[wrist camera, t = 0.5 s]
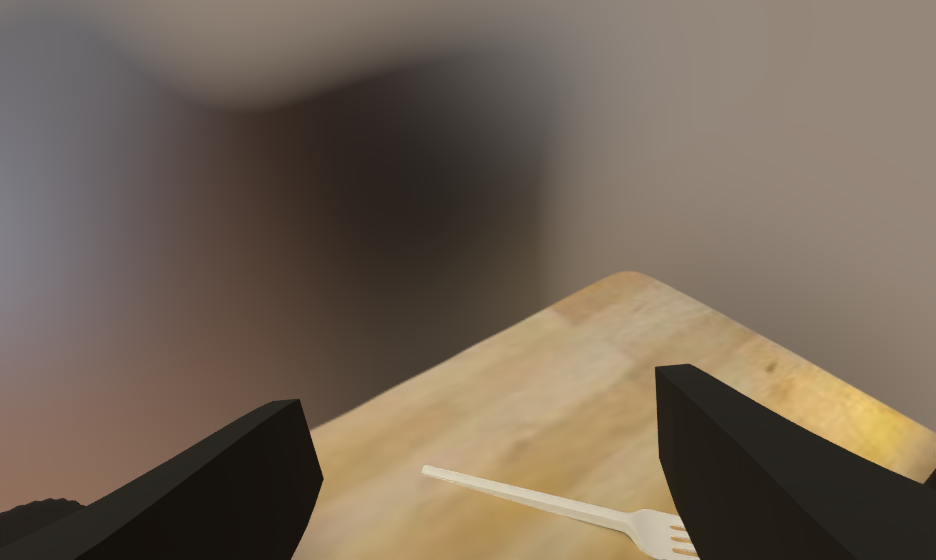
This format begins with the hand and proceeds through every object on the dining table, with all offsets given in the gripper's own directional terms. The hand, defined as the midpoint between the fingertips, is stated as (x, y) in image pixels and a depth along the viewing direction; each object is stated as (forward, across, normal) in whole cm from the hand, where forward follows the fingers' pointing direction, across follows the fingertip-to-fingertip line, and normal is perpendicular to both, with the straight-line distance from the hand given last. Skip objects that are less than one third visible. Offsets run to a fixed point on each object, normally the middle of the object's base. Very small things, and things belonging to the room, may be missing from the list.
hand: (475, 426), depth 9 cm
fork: (+16, -2, +18) cm, 24 cm away
